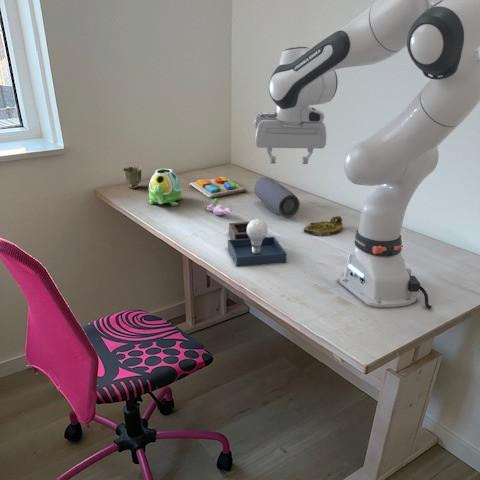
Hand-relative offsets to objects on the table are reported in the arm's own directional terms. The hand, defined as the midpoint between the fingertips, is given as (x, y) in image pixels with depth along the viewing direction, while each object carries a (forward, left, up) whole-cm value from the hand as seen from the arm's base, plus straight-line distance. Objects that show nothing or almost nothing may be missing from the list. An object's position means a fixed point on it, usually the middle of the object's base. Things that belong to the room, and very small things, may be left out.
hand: (288, 163), depth 147 cm
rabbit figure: (+33, +15, -27) cm, 45 cm away
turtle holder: (+49, +33, -27) cm, 65 cm away
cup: (+70, +44, -27) cm, 87 cm away
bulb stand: (+9, +10, -27) cm, 30 cm away
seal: (+12, -18, -27) cm, 34 cm away
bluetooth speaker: (+34, -7, -27) cm, 43 cm away
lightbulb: (-4, +10, -26) cm, 28 cm away
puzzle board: (+62, +10, -27) cm, 68 cm away
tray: (-4, +10, -27) cm, 29 cm away
